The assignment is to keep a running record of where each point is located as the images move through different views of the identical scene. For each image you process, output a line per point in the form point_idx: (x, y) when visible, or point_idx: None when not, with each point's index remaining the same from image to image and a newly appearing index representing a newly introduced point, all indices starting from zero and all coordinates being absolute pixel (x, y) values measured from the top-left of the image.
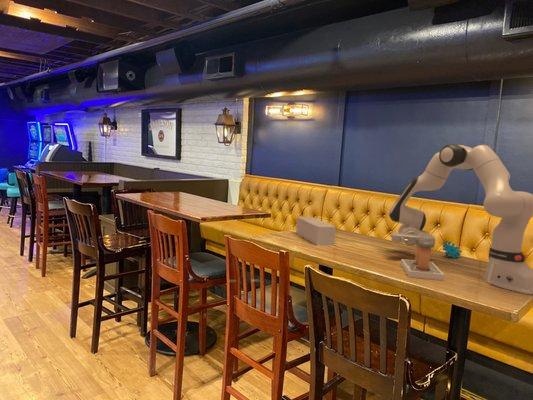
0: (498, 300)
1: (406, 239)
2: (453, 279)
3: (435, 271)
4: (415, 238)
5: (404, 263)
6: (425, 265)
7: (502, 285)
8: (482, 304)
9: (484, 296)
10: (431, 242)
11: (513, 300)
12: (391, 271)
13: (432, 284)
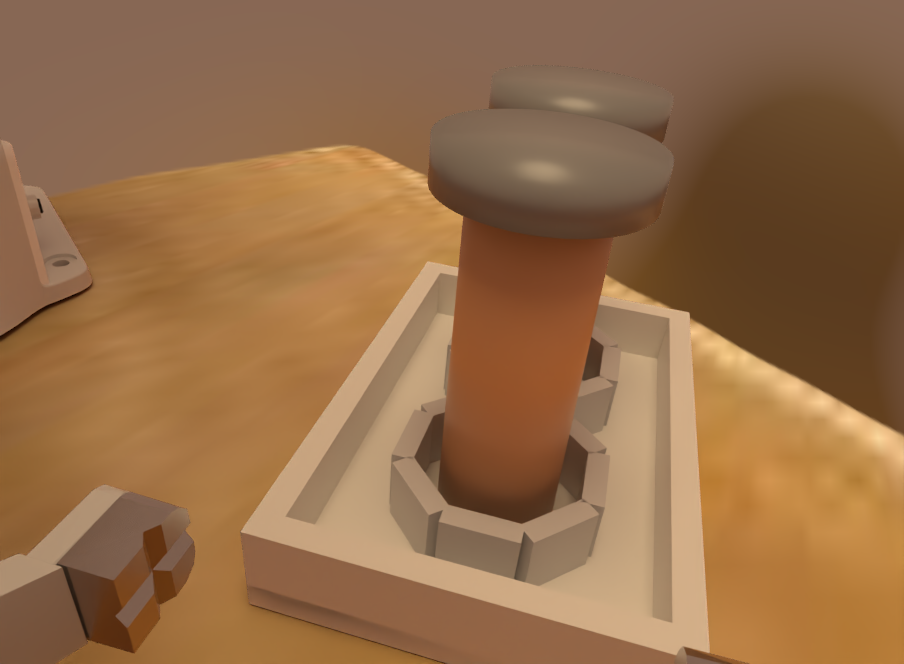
0: (299, 184)
1: (709, 661)
2: (276, 358)
3: (381, 394)
4: (665, 153)
5: (693, 473)
6: None
7: (66, 233)
8: (416, 175)
9: (327, 206)
10: (511, 82)
11: (221, 180)
12: (809, 527)
13: None
